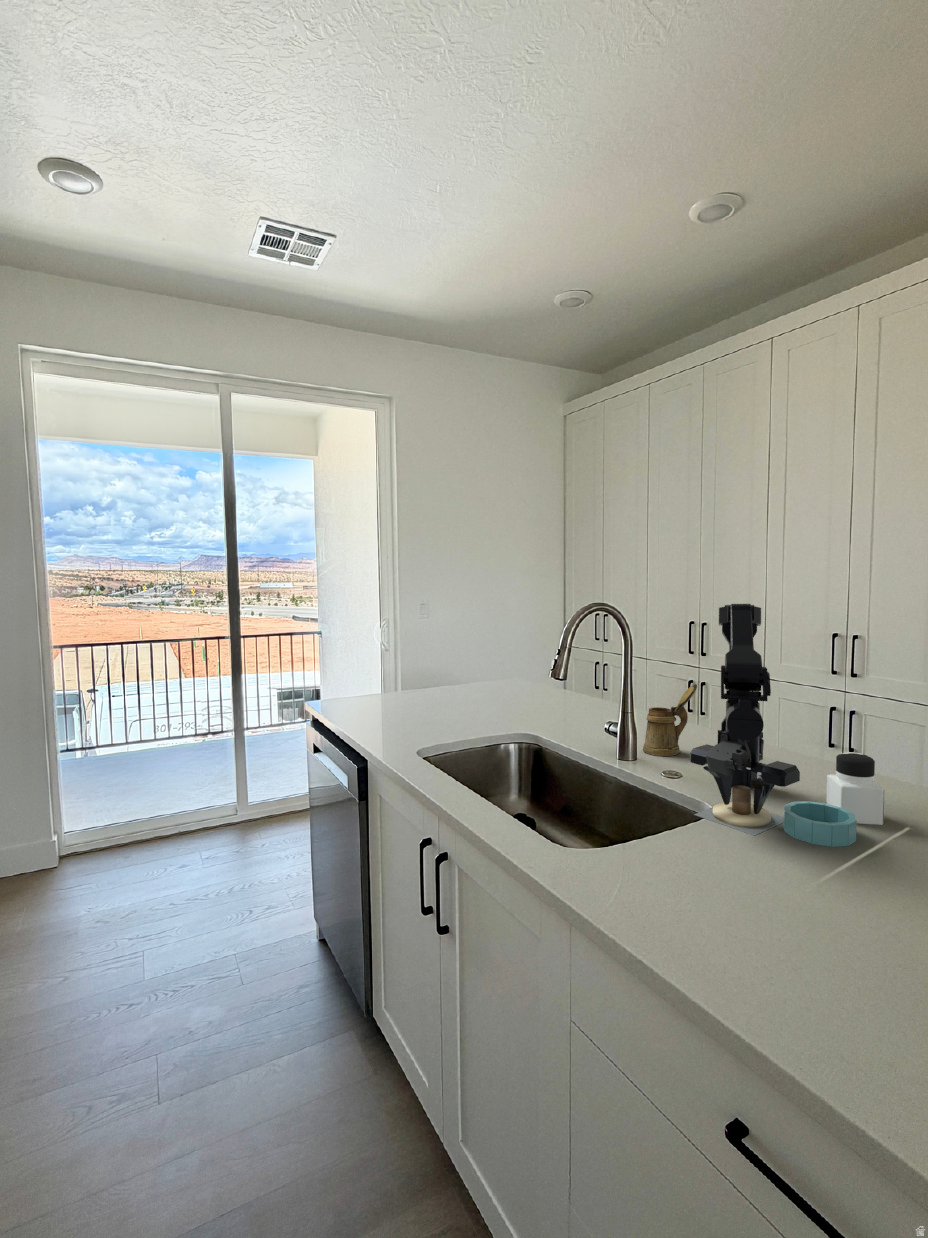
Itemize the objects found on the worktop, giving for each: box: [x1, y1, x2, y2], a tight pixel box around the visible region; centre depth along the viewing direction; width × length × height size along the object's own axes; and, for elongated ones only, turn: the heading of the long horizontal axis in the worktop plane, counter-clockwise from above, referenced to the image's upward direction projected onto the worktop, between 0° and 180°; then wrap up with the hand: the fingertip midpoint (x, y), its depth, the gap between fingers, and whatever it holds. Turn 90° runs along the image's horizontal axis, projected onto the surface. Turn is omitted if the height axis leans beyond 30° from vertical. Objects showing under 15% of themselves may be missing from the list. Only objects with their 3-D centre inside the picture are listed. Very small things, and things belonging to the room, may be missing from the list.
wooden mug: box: [642, 684, 698, 757], centre depth 159 cm, size 9×14×18 cm, turn 80°
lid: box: [712, 785, 772, 828], centre depth 115 cm, size 10×10×6 cm
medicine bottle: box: [826, 752, 885, 826], centre depth 114 cm, size 7×7×12 cm
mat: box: [693, 800, 784, 837], centre depth 115 cm, size 12×12×1 cm
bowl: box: [783, 800, 858, 848], centre depth 107 cm, size 11×11×4 cm
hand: (741, 809), depth 115 cm, fingers open, 6 cm apart
